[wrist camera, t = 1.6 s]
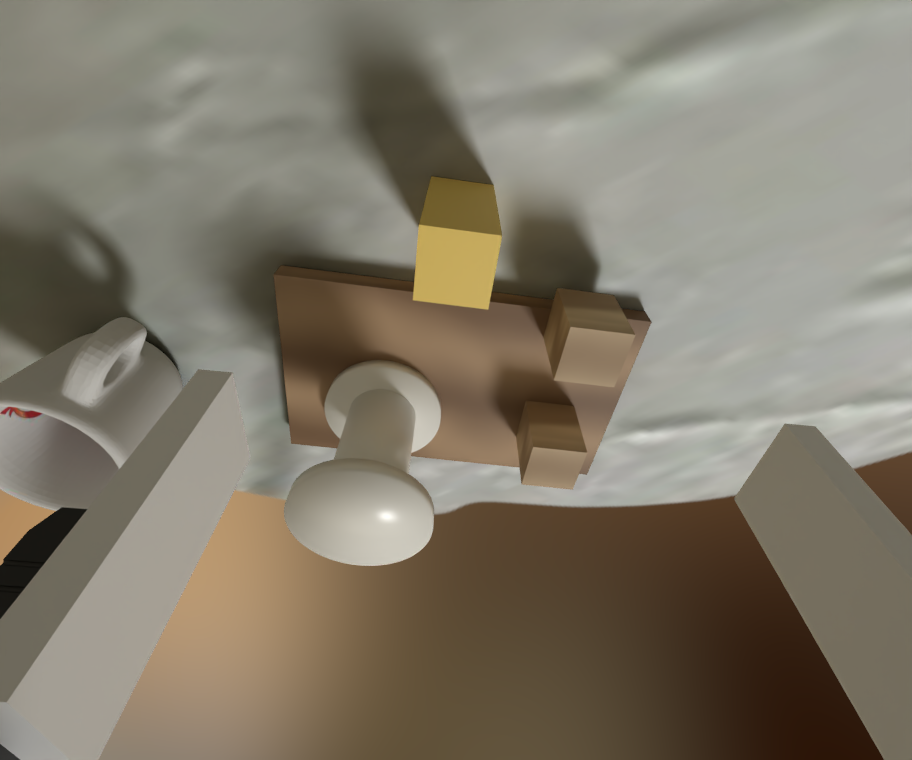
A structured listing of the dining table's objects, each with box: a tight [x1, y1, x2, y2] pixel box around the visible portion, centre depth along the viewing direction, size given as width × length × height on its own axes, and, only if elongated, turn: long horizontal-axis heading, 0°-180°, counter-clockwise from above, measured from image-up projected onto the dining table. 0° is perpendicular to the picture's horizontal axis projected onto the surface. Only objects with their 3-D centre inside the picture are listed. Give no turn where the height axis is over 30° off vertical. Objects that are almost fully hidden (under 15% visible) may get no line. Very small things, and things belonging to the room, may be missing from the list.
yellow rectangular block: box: [413, 176, 502, 310], centre depth 21 cm, size 3×3×7 cm
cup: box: [0, 317, 183, 511], centre depth 26 cm, size 11×8×8 cm
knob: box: [284, 360, 441, 566], centre depth 26 cm, size 7×7×9 cm
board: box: [274, 265, 651, 489], centre depth 27 cm, size 13×20×5 cm, turn 83°
